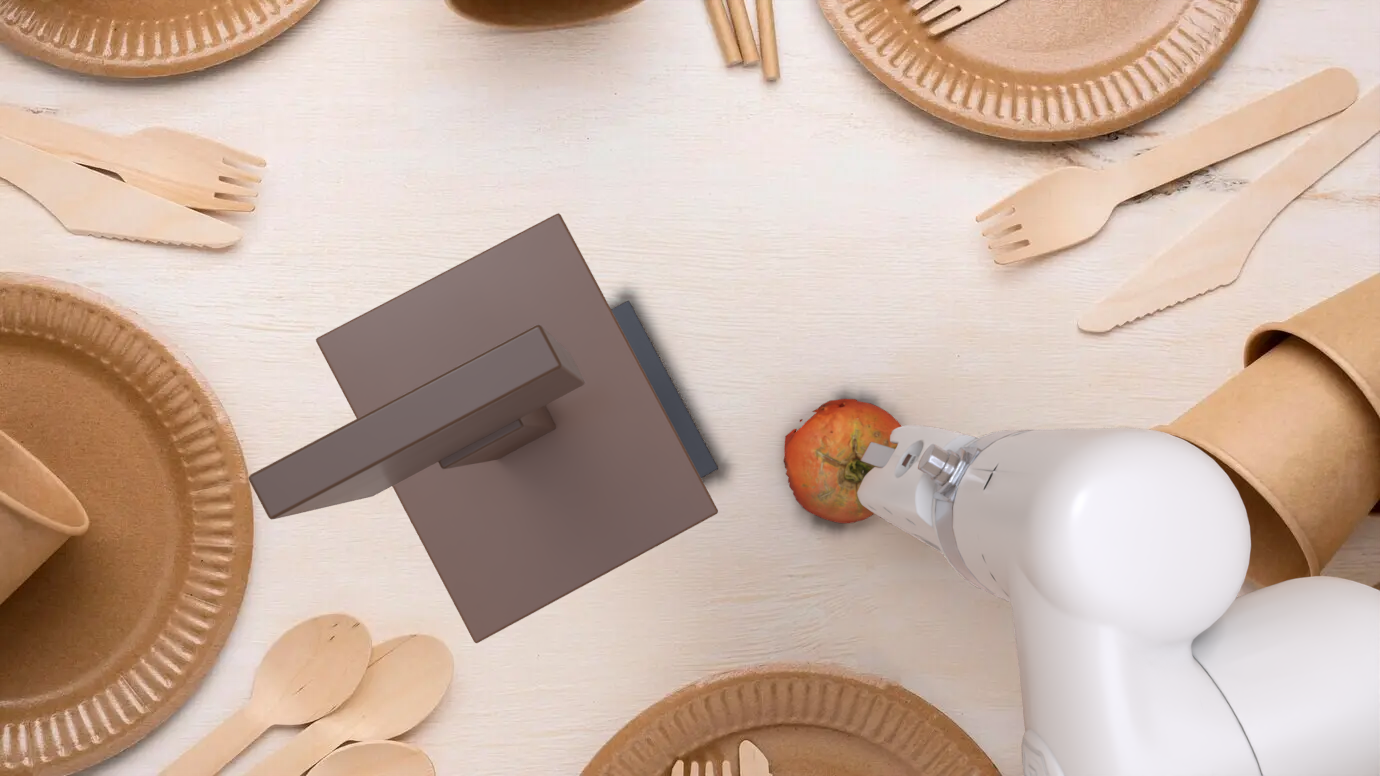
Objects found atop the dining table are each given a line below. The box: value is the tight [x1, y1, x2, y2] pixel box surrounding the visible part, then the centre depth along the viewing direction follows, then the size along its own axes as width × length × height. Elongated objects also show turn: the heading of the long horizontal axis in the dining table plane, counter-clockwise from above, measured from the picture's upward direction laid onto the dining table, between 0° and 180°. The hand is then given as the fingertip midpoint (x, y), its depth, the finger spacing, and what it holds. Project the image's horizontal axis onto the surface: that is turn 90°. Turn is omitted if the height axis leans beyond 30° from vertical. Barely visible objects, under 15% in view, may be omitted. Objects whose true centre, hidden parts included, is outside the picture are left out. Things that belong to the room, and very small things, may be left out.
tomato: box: [783, 398, 902, 524], centre depth 66 cm, size 8×7×7 cm
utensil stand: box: [248, 212, 719, 644], centre depth 42 cm, size 12×12×50 cm
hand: (919, 493), depth 65 cm, fingers closed
